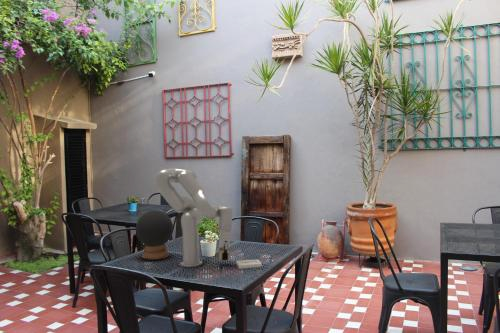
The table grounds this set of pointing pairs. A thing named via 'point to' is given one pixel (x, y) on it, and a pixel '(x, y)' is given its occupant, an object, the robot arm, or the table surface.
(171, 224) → the decorative object
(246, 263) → the dish
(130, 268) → the table surface
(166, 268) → the table surface
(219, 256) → the oak cube
